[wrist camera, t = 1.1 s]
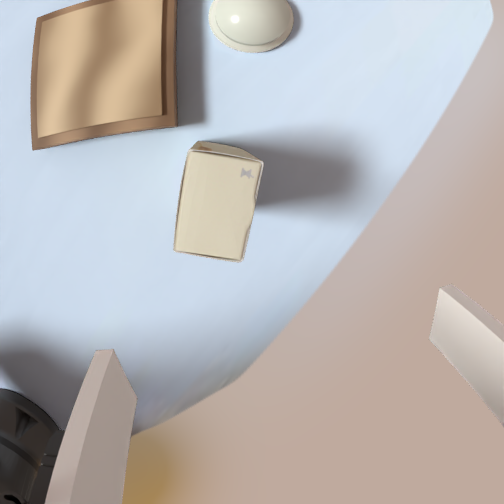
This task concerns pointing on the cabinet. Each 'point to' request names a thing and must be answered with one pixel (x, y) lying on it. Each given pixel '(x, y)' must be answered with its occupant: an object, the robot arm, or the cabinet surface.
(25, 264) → the cabinet surface
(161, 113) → the tan square flat tray
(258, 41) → the trinket dish
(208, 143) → the skincare box
